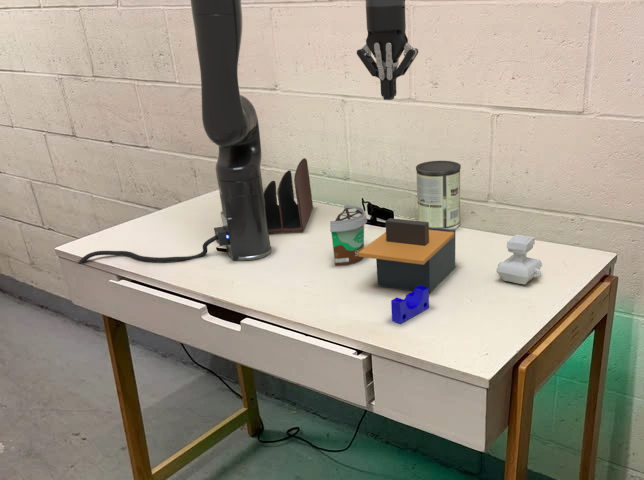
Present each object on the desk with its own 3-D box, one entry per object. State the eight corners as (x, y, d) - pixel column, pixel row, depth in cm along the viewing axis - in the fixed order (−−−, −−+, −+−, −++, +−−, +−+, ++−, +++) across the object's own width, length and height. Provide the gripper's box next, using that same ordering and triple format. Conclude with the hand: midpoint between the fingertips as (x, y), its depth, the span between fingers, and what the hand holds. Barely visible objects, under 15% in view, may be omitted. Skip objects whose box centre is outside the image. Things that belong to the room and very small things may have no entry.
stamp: (490, 282, 135) (491, 240, 131) (504, 270, 140) (506, 230, 136) (533, 290, 131) (536, 248, 127) (547, 278, 135) (550, 237, 131)
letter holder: (313, 208, 183) (308, 153, 177) (303, 232, 166) (297, 173, 159) (275, 209, 184) (269, 155, 177) (262, 234, 166) (254, 175, 160)
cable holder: (413, 303, 128) (413, 283, 126) (428, 308, 126) (428, 287, 124) (385, 318, 123) (384, 298, 121) (400, 324, 121) (400, 303, 119)
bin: (429, 293, 132) (429, 253, 128) (377, 285, 136) (375, 246, 132) (455, 267, 143) (455, 229, 139) (406, 261, 147) (405, 224, 143)
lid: (423, 264, 123) (422, 238, 121) (358, 256, 128) (356, 231, 126) (454, 236, 136) (454, 212, 133) (393, 229, 141) (392, 206, 138)
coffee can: (423, 217, 173) (423, 159, 166) (464, 219, 169) (465, 161, 163) (411, 230, 164) (410, 170, 157) (454, 233, 161) (454, 172, 154)
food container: (362, 269, 144) (359, 222, 139) (333, 268, 145) (329, 222, 140) (374, 248, 154) (372, 204, 150) (347, 247, 156) (344, 203, 151)
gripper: (345, 5, 132) (351, 101, 141) (409, 3, 127) (411, 103, 135) (363, 3, 138) (368, 95, 146) (424, 1, 133) (426, 97, 141)
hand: (389, 99), depth 141 cm, fingers closed
